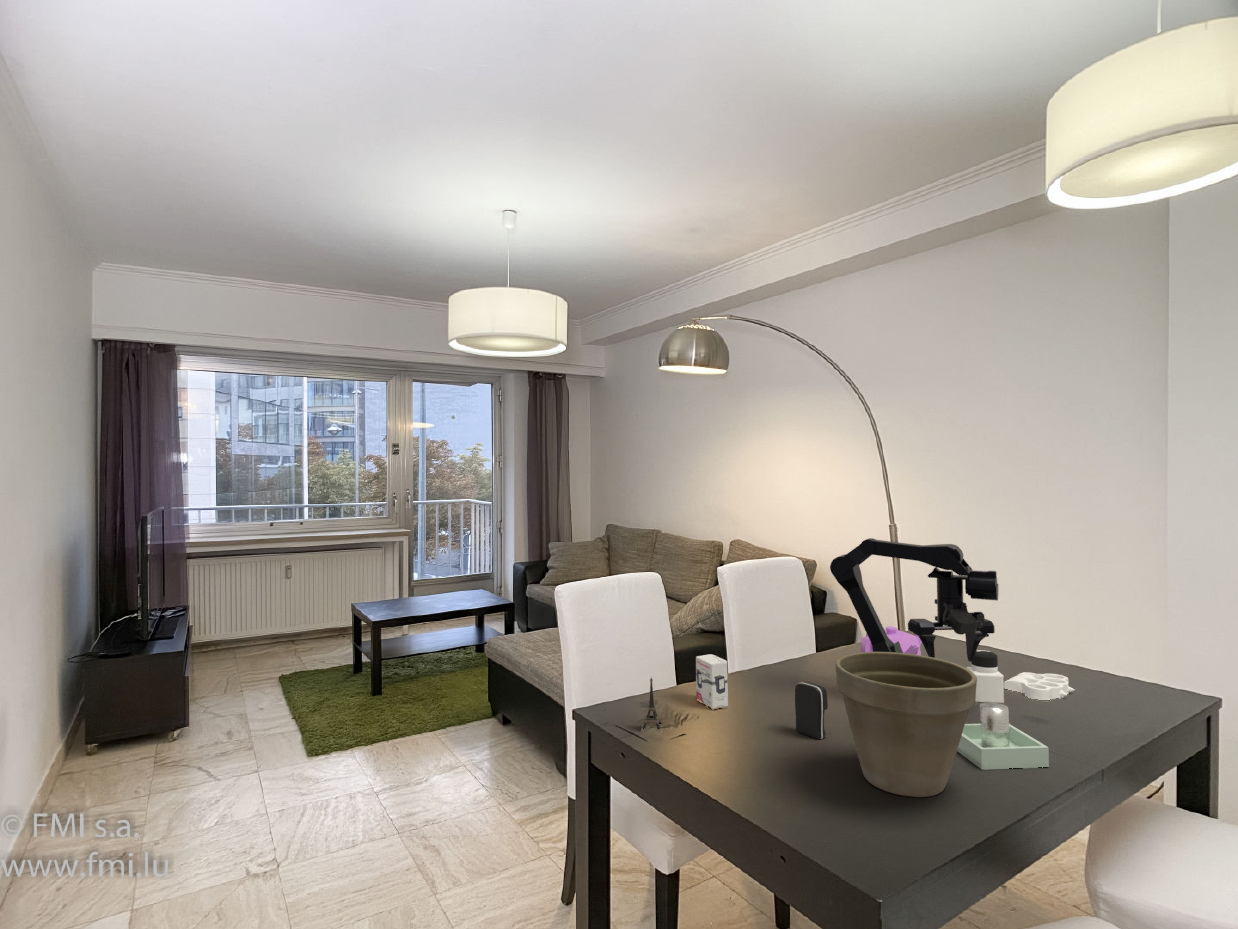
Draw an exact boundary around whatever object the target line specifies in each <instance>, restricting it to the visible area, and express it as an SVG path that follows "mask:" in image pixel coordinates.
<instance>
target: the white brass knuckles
mask: <svg viewBox="0 0 1238 929" xmlns="http://www.w3.org/2000/svg"><path fill="white" fill-rule="evenodd" d="M1069 682H1070V681H1069V677H1067V676H1066V675H1065V676H1064V675H1062V674H1058V673H1034V672H1030V671H1027V672H1020V673H1018V674H1016V675H1015V676H1012V677H1010V679H1006V680H1004V690H1006V689H1008V690H1012V691H1011V692H1013V691H1017V692H1016V693H1018V692H1021V693H1020V694H1022V693H1025V694H1024V696H1025V697H1026V696H1027V697H1028V699H1030V698H1031V700H1033V699H1038V700H1050V699H1051V700H1056V698H1059V699H1058V700H1060V699H1064V698H1065V696H1068V695H1069V693H1070V692H1074V691H1076V689H1074V688H1072V687H1071V686H1069ZM1008 690H1007V691H1008ZM1067 694H1068V695H1067ZM1027 697H1026V698H1027ZM1038 700H1037V701H1038ZM1051 700H1050V701H1051Z"/></svg>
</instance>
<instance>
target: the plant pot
mask: <svg viewBox="0 0 1238 929" xmlns="http://www.w3.org/2000/svg"><path fill="white" fill-rule="evenodd" d="M835 661H836V662H835V673H836V674H835V677H836V688H837V690H838V691H839V692H840V693H841V694H842V697H843V703H844V706H845V711H846V715H847V720H848V722H849V725H850V726H849V727H850V731H851V734H852V737H853V741H854V745H855V749H856V752H857V757H858V760H859V764H860V768H861V772H862V773H863V774H862V775H863V776H864V778H865V779H866V781H867V782H868V783H870V784H871V785H872V786H874V787H876V789H877V788H878V789H879V790H882V791H884V792H887V793H890V794H894V795H898V796H904V797H910V798H911V797H913V798H927V797H932V796H936V795H938V794H941V793H942V792H944V790H945V788H946V786H947V783H948V781H949V777H950V775H951V772H952V768H953V765H954V762H955V758H956V756H957V753H958V751H957V749H958V746H959V742H960V739H961V736H962V732H963V729H964V725H965V724H966V722H967V721H966V720H967V717H968V715H969V711H970V709H972V708H973V707H974V706H975V704H976V702H975V700H976V685H977V677H976V675H975V674H974V673H973V672H972V671H970V670H969V669H967V668H966V667H965V666H962V665H961V664H957V663H955V662H952V661H949V660H945V659H941V658H937V657H935V658H933V657H929V656H928V655H926V656H925V655H922V654H921V655H914V654H906V653H895V652H861V651H860V652H855V653H850V654H846V655H843V656H840V657H839V658H837V660H835Z"/></svg>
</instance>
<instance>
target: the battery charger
mask: <svg viewBox="0 0 1238 929" xmlns="http://www.w3.org/2000/svg"><path fill="white" fill-rule="evenodd" d="M794 688H795V689H794V708H795V731H796V733H797V732H798V733H799V732H800V734H802V735H804V734H805V736H807V737H810V736H811V737H810V738H813V737H814V739H818V740H823V738H825V737H826V731H825V711H826V710H828V706H829V704H828V700H829V699H828V692H827V689H826V687H824V686H823V685H820V684H817V683H814V682H810V681H803V682H799V683H797V684H795V687H794Z"/></svg>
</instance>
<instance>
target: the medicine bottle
mask: <svg viewBox="0 0 1238 929" xmlns="http://www.w3.org/2000/svg"><path fill="white" fill-rule="evenodd" d="M998 660H999V659H998V655H997V653H995V652H993V651H989V650H982V649H981V650H978V649H977V650H976V652H975V655H974V658H973V660H972V662H970V663H971V664H970V665H971V666H966V667H965V668H967V669H969V670H970V671H972V672H973V673H974V674H975V675H976V677H977V685H976V700H975V703H984V702H993V703H999V704H1004V703H1005V688H1004V681H1005V676H1004V674H1002V673H1001V672H1000V671H999V670H998V668H999V666H998V664H999V663H998Z"/></svg>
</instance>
